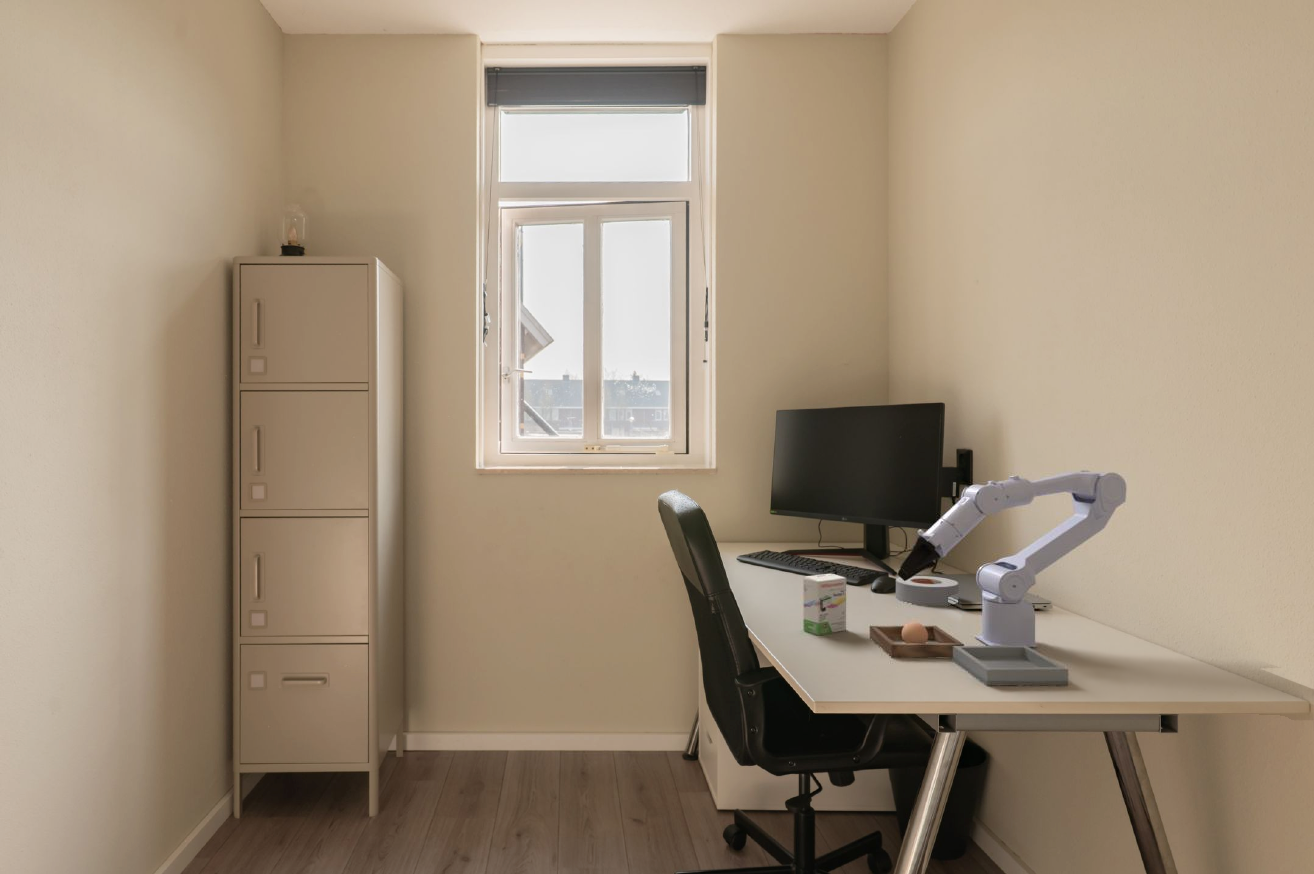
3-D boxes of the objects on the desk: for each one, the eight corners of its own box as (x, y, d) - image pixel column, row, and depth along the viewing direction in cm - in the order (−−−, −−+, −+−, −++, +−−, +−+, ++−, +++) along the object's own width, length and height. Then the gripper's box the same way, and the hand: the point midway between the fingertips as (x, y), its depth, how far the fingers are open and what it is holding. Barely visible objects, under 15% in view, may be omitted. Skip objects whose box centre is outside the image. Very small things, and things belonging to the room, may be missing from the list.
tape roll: (886, 594, 200) (886, 575, 200) (940, 593, 202) (940, 574, 202) (911, 608, 185) (911, 587, 185) (970, 606, 187) (970, 586, 187)
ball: (922, 643, 153) (922, 619, 153) (931, 650, 148) (931, 625, 148) (898, 643, 153) (898, 619, 153) (906, 650, 148) (906, 625, 148)
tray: (1026, 660, 142) (1026, 645, 142) (1067, 685, 128) (1068, 669, 128) (952, 660, 142) (952, 645, 142) (986, 685, 128) (986, 669, 128)
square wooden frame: (935, 637, 158) (935, 625, 158) (964, 657, 144) (964, 644, 144) (869, 637, 157) (869, 625, 157) (891, 657, 143) (891, 644, 143)
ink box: (818, 635, 159) (818, 580, 159) (802, 630, 163) (802, 576, 163) (847, 630, 163) (847, 576, 163) (831, 625, 168) (831, 572, 168)
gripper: (931, 523, 161) (885, 566, 160) (939, 506, 148) (889, 553, 147) (957, 547, 158) (910, 590, 157) (968, 532, 145) (917, 579, 144)
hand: (902, 574), depth 152 cm, fingers open, 7 cm apart
